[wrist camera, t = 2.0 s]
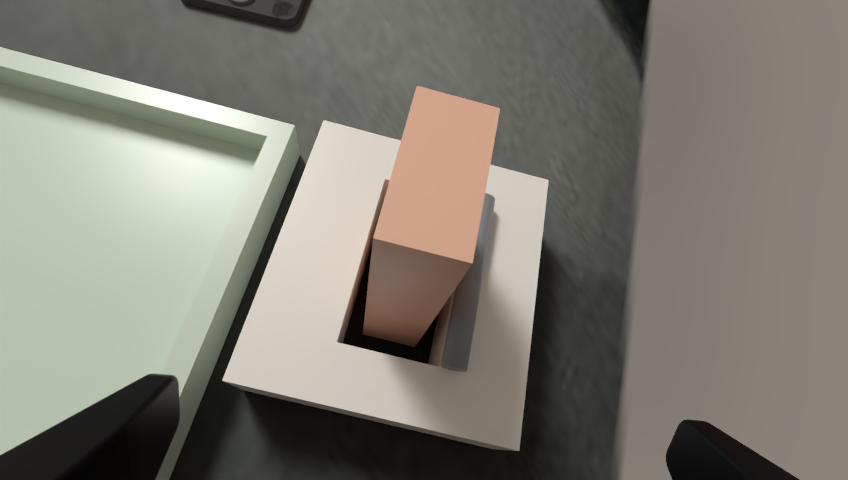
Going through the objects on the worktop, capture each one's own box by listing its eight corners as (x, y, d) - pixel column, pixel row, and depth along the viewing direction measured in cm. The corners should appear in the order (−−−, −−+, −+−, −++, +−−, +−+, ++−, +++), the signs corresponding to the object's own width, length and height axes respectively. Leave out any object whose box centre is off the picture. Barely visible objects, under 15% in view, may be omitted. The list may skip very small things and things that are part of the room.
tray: (114, 615, 16) (74, 645, 13) (-401, 507, 15) (-535, 520, 13) (299, 154, 24) (294, 125, 22) (-22, 70, 23) (-62, 31, 21)
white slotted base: (492, 449, 20) (528, 451, 16) (243, 390, 19) (214, 376, 15) (523, 213, 25) (556, 168, 21) (327, 161, 24) (322, 105, 20)
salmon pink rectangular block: (414, 347, 21) (472, 263, 11) (362, 334, 21) (372, 237, 11) (435, 251, 23) (500, 108, 13) (388, 239, 23) (417, 85, 13)
